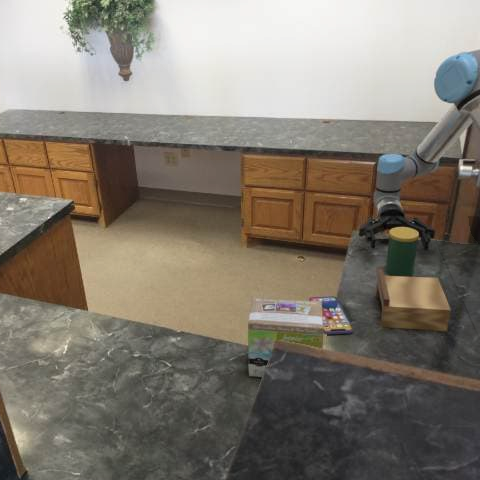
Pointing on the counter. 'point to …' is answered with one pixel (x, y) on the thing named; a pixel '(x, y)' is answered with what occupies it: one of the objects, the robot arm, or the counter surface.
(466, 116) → the robot arm
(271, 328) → the tea box
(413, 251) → the tea tin
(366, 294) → the counter surface
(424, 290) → the wooden block
